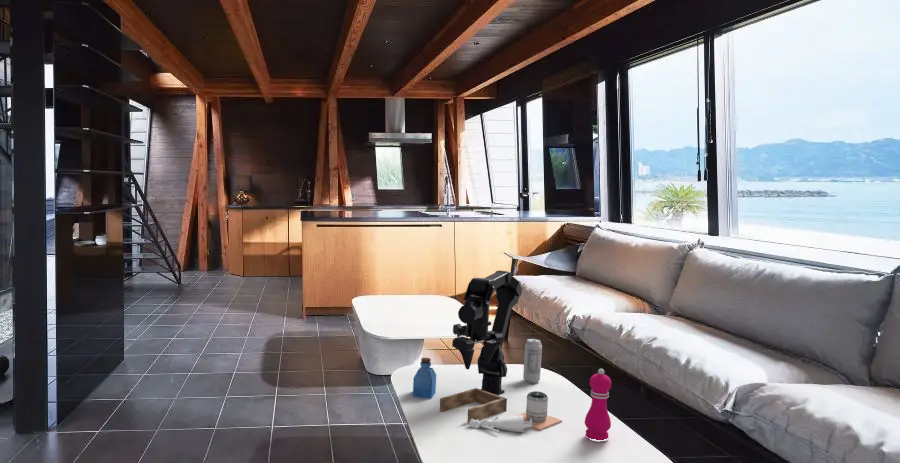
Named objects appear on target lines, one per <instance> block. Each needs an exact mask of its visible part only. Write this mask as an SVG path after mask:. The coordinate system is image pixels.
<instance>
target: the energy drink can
mask: <svg viewBox="0 0 900 463" xmlns="http://www.w3.org/2000/svg"><path fill="white" fill-rule="evenodd" d="M542 351H543V345H542V342H541V340H540V339H536V338H528V339H526V342H525V344H524V355H523V356H524V359H523V376H522V377H523V380H524V382H525V383H526V384H527V383H528V384H538V383H539V381H540V380H541V371H542V368H541V367H542V366H541V365H542V354H543V353H542Z"/></svg>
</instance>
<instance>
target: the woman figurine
mask: <svg viewBox="0 0 900 463" xmlns="http://www.w3.org/2000/svg"><path fill="white" fill-rule="evenodd" d="M519 415H520V414H519ZM468 424H469V427H470V428H472V429H479V428H482V429H487V430H490V431H492V432H493V431H494V432H496V433H497V434H499V433H500V430H502V431H507V432H513V433H515V432H516V433H522V434H523V433H524V429H529V428H531V427H532V419H531V418H530V420H529V422H524V420H523V415H520V416H517V415H515V416H506V417H501V418H499V416H496V417H494V418H490V419H489V417H488V418H485V419H482V420H477V419H476V420H474V419H471V420H470V422H469V423H468ZM491 426H492V427H491ZM493 427H494V428H493Z"/></svg>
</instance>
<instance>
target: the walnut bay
mask: <svg viewBox="0 0 900 463" xmlns="http://www.w3.org/2000/svg"><path fill="white" fill-rule="evenodd" d="M481 389H482V388H477V387H476V388H471V389H467V390H464V391H461V392H458V393H455V394H451V395H448V396H444V397H440V398H439V412H440V413H444V412H448V411H451V410H454V409H457V408H461V407H464V406H467V405H470V404H473V403H479V405H476V406H472V407H470V408H468V409H467V423H468V424H469V422H470V420H471V419H474V420H476V419H477V420H479V421H482V420H483V419H484V420H485V418H488V419H489V418H490V417H493V416H496V415H499V414H502V413H505V412H507V405H508V398H506V397H504V396H500V395H499V394H497V395H495V394H492V393H489V392H487V391H484V390H481Z"/></svg>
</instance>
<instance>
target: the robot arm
mask: <svg viewBox="0 0 900 463" xmlns="http://www.w3.org/2000/svg"><path fill="white" fill-rule="evenodd" d="M512 274H513V273H511V272H510V271H508V270H507V271H506V270H496V271H494V273H492V274H490V275H488V276H486V277H473V278H471V280H470V281H469V282H468V285H467V287H466V291H465V293H464V294H465V295H464V297H463V301H464V305H462V306H461V307H460V308H459V310H458V312H457V315H458V318H459V320H460V322H462V323H464V324H465V325H462V324H461V323H456V324H453V326H452V332H453V335H455V336H456V337H455V338H453V339H452V342H451V344H452V346H451V347H452V348H455V350H458V351H459V353H460V355H461V357H462V360H463V363H464V368H465V369H466V370H470V368H471V365H472V362H473V357H474V352H475V349H474V347H475V345H477V344H480V343H482V347H481V349H480V353H479V356H478V358H477V372H478V374H480V375H482V380H481V388H480V389H481V390H484V391H487V392H489V393H492V394H495V395H500V394H503V393H505V390H503V389H502V379H503V378H506V377H507V373H508V366H507V364H506V362H505V354H504V351H503V344H504V341H505V337H506V333H507V329H508V325H509V321H510V320H509V319H510V316H511V313H512V309H513V308H514V307H515V306H516V305H517V304H518V303H519V301H520V300H519V299H520V297H521V295H522V293H523V288H522V287H523V286H522V285H521V283H520V281H519V280H518V279H517V278H516V277H515V276H513V275H512ZM495 292H496V293H495ZM494 294H495V297H496V300H497V303H498V304H497V309H496V312H495V315H494V316H495V317H494V321H493V324H492V322H491V321H489V318H490V304H491V302H492V298H493V295H494ZM491 325H492V328H491V330H489V326H491Z"/></svg>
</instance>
